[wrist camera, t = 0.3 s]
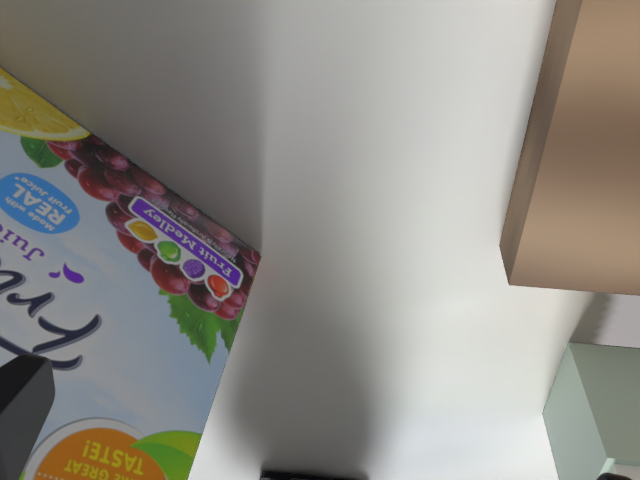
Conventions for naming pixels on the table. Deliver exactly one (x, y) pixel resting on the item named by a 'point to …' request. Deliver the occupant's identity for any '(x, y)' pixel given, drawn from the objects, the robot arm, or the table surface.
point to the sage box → (595, 412)
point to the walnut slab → (581, 157)
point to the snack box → (110, 298)
